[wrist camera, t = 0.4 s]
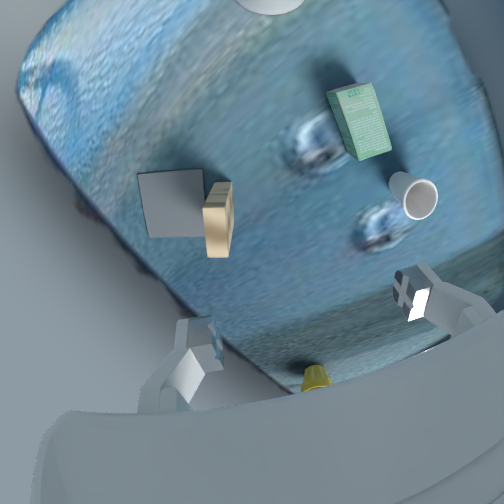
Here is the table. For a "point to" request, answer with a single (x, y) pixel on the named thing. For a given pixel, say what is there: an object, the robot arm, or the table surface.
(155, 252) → the table surface
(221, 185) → the oak slab
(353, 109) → the box
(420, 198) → the dixie cup
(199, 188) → the mat
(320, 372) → the plant pot
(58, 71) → the table surface
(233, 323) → the table surface
